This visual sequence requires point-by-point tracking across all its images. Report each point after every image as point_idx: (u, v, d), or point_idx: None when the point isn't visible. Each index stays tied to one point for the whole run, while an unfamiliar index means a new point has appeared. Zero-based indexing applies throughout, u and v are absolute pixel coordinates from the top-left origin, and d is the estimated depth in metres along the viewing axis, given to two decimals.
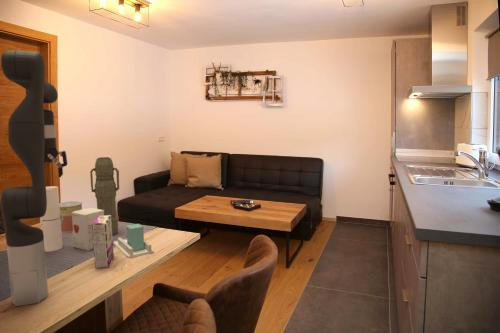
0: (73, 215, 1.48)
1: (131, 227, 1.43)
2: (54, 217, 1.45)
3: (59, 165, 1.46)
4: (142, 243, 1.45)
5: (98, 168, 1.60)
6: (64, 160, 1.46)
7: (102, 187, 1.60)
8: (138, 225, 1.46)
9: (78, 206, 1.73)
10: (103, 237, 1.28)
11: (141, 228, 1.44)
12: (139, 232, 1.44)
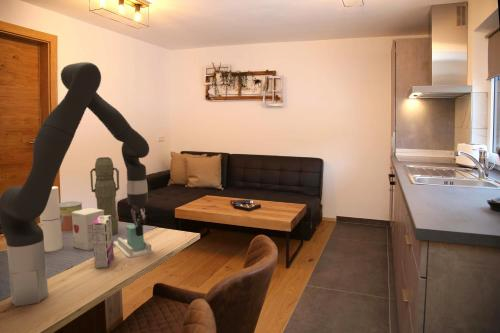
0: (73, 215, 1.48)
1: (131, 227, 1.44)
2: (54, 217, 1.45)
3: None
4: (142, 243, 1.45)
5: (98, 168, 1.60)
6: None
7: (102, 187, 1.60)
8: None
9: (78, 206, 1.73)
10: (103, 237, 1.28)
11: None
12: None
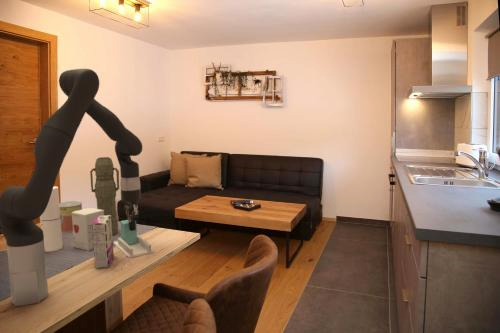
0: (73, 215, 1.48)
1: (125, 222, 1.50)
2: (54, 217, 1.45)
3: None
4: (135, 237, 1.52)
5: (98, 168, 1.60)
6: None
7: (102, 187, 1.60)
8: None
9: (78, 206, 1.73)
10: (103, 237, 1.28)
11: None
12: None
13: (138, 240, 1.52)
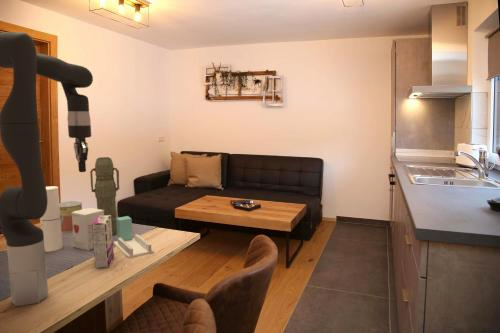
0: (73, 215, 1.48)
1: (120, 219, 1.55)
2: (54, 217, 1.45)
3: None
4: (130, 234, 1.57)
5: (98, 168, 1.60)
6: None
7: (102, 187, 1.60)
8: (127, 217, 1.58)
9: (78, 206, 1.73)
10: (103, 237, 1.28)
11: (129, 220, 1.56)
12: (128, 223, 1.56)
13: (138, 240, 1.52)
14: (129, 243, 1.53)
